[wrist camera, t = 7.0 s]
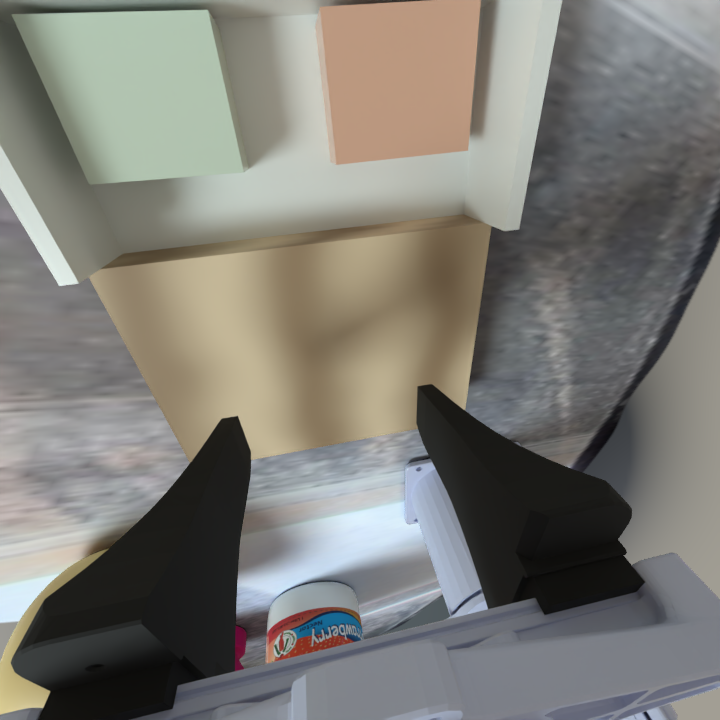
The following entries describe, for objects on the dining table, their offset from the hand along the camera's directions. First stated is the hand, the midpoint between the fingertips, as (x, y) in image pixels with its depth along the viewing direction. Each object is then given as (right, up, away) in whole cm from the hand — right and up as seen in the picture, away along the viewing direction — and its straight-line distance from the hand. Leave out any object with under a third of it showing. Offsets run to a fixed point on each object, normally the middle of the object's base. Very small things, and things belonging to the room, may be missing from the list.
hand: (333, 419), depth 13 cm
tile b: (-6, +10, -3) cm, 12 cm away
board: (-1, +4, +5) cm, 6 cm away
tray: (-2, +11, 0) cm, 12 cm away
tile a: (+3, +11, -2) cm, 12 cm away
